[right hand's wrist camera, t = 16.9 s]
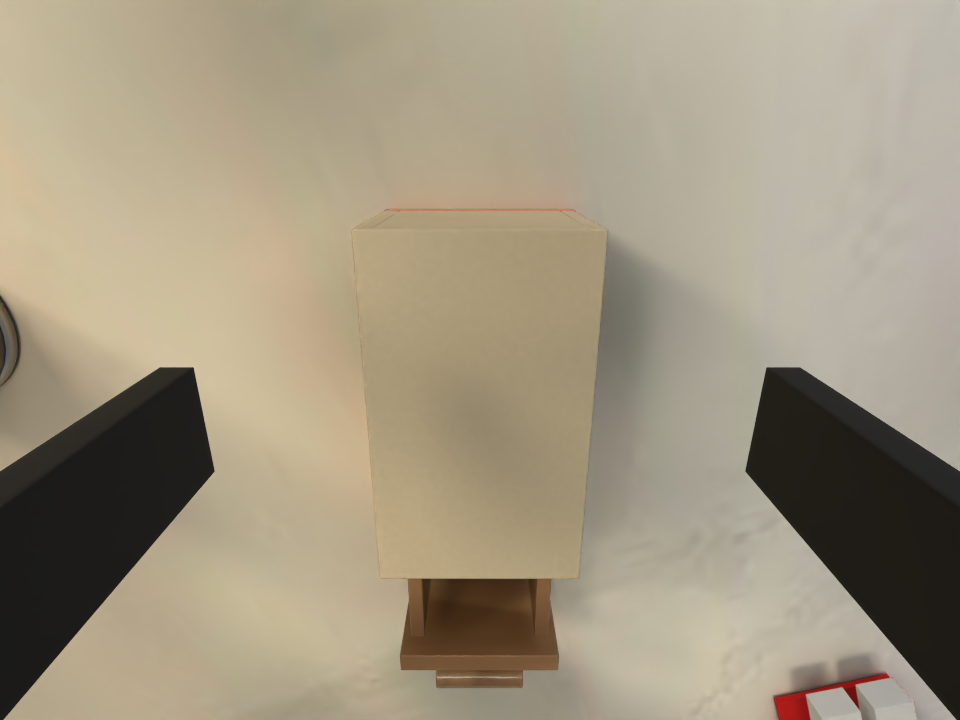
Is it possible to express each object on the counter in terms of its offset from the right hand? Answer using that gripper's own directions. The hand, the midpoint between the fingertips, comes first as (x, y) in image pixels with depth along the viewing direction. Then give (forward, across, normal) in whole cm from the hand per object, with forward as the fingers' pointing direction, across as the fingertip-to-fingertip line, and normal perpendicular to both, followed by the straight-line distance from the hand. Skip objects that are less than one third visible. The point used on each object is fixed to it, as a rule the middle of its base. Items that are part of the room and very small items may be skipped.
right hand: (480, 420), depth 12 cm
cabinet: (+21, 0, -6) cm, 22 cm away
